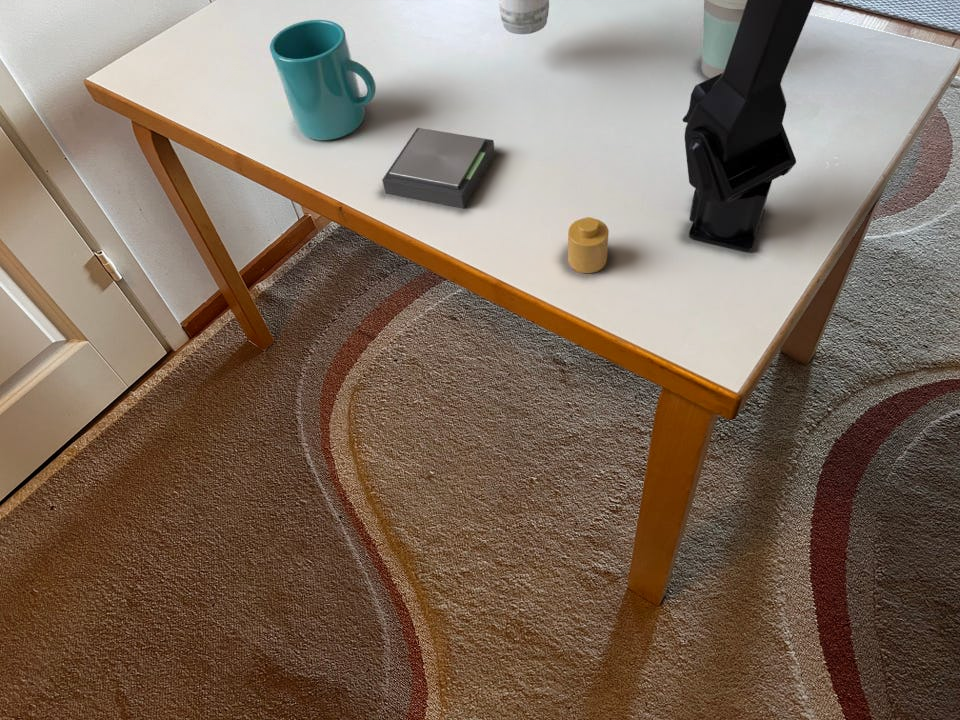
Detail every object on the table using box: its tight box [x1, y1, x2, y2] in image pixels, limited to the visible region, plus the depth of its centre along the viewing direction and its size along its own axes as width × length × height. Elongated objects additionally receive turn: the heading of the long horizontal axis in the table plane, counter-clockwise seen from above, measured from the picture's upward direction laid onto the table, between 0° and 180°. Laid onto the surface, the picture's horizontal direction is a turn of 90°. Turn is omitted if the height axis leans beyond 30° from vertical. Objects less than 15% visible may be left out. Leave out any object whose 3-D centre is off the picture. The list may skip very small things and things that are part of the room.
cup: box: [269, 19, 377, 141], centre depth 88 cm, size 9×12×11 cm
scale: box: [381, 127, 496, 209], centre depth 84 cm, size 10×10×3 cm
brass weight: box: [567, 216, 610, 274], centre depth 73 cm, size 4×4×5 cm
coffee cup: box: [700, 0, 747, 79], centre depth 87 cm, size 8×8×12 cm
